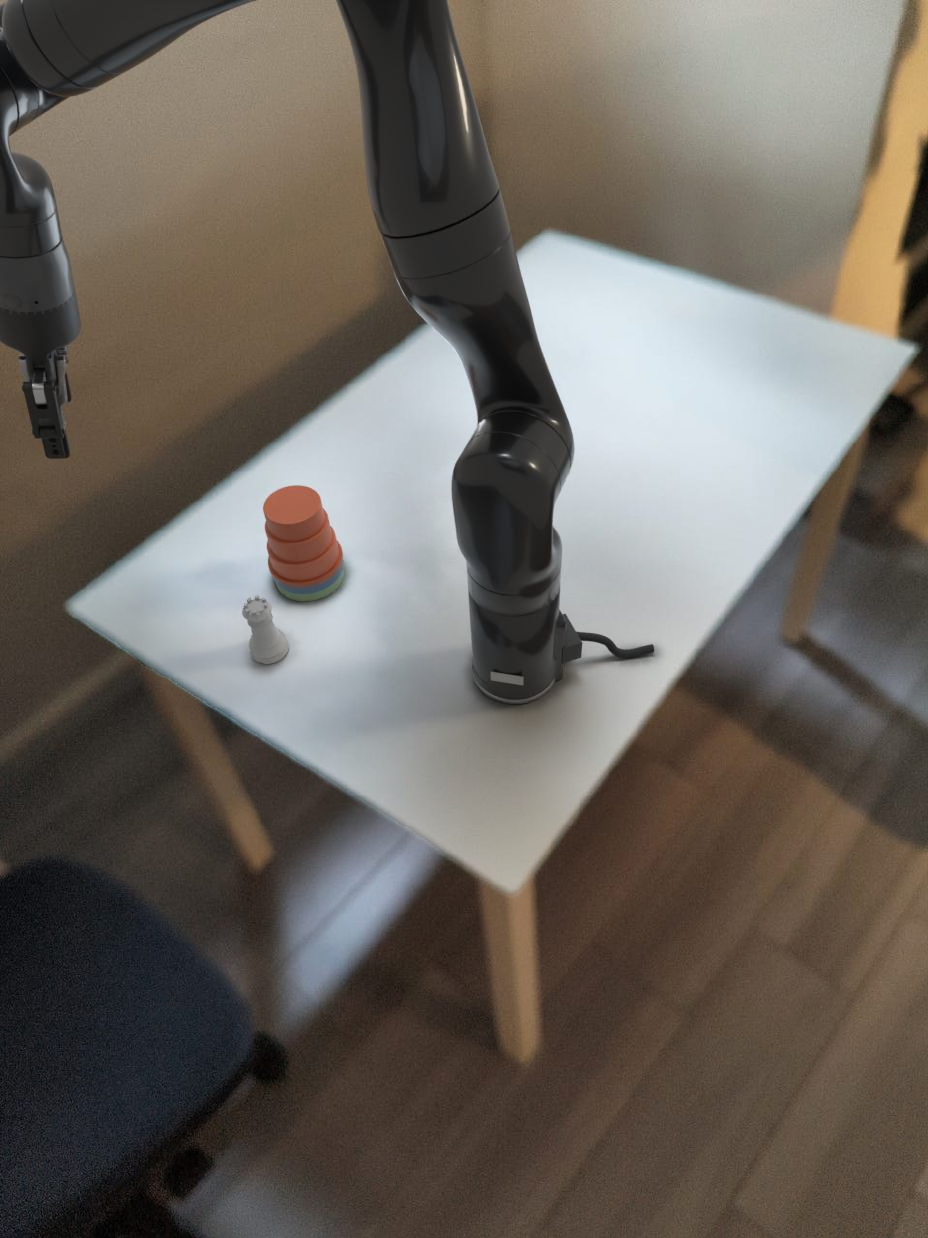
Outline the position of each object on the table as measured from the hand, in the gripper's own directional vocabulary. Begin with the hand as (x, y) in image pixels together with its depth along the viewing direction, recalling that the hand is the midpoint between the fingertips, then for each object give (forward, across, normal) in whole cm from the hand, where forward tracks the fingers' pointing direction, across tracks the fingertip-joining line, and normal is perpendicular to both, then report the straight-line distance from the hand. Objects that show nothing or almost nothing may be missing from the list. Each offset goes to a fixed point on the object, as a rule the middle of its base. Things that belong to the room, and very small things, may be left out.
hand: (59, 427), depth 92 cm
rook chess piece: (+21, -15, -20) cm, 32 cm away
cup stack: (+20, -4, -25) cm, 33 cm away
